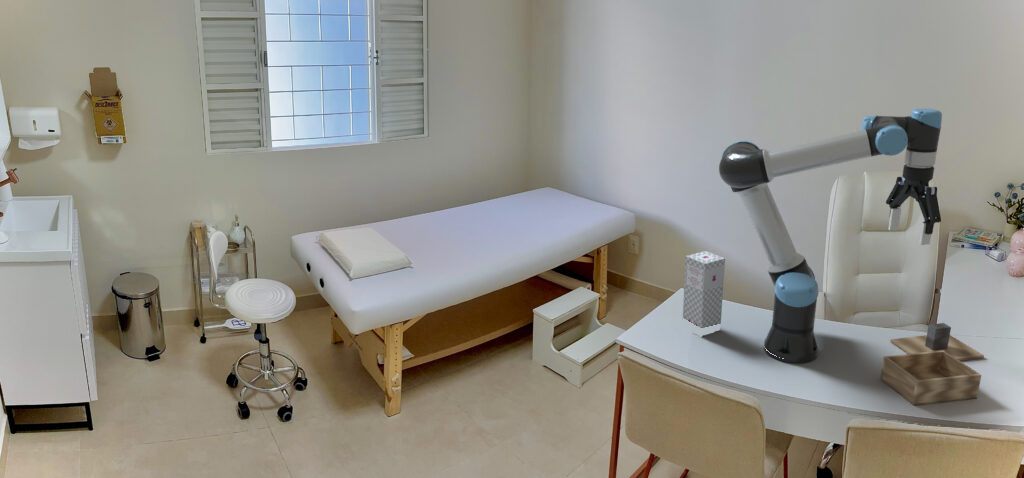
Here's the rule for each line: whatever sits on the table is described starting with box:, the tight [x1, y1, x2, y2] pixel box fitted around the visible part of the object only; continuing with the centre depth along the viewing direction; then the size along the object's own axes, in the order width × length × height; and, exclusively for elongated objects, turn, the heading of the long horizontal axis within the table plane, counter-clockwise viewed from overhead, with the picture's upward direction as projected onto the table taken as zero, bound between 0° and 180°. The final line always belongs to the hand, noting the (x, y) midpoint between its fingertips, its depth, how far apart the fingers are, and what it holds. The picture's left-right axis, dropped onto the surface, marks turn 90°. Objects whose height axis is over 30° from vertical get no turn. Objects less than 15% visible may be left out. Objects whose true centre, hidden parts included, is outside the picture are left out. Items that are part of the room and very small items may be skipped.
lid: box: [889, 322, 985, 362], centre depth 212 cm, size 19×15×8 cm
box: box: [682, 250, 726, 328], centre depth 228 cm, size 8×8×25 cm
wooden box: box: [880, 350, 982, 406], centre depth 192 cm, size 18×14×7 cm
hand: (908, 236), depth 207 cm, fingers open, 13 cm apart
